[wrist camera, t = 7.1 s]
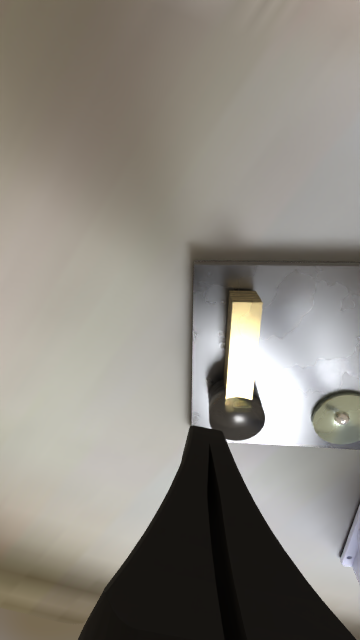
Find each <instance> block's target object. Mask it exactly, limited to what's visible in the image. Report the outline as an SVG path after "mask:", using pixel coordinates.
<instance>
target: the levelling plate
mask: <svg viewBox="0 0 360 640" xmlns="http://www.w3.org/2000/svg"><path fill="white" fill-rule="evenodd" d="M229 290H231V291H256V292H257V294H258V295H259V297H260V299H261V301H262V302H263V305H262V314H261V323H260V332H259V341H258V350H257V358H256V367H255V376H254V385H255V386H256V388H257V390H258V392H259V396H260V399H261V403H262V406H263V410H264V413H265V424H264V427H263V428H262V430H261V431H260V432H259V433H258V434H257V435H256V436H254V437H252V438H250V439H247V440H242V441H232V440H227V439H226V441H227V442H233V443H251V444H270V445H288V446H306V447H324V448H342V449H360V262H268V261H194V282H193V355H192V426H193V425H194V426H200V427H205V428H210V429H212V428H211V426H210V423H209V399H208V396H209V392H210V389H211V388H212V386H213V385H214V384H215V383H216V382H218V381H220V380H222V379H224V365H225V349H226V333H227V318H228V302H229Z"/></svg>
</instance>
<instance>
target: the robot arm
mask: <svg viewBox="0 0 360 640" xmlns="http://www.w3.org/2000/svg"><path fill="white" fill-rule="evenodd" d="M340 561H341V563H342V565H343V566H346V567H353V570H354V572H355V575H356V577H357V580H358V582H359V585H360V505H359V508H358V511H357V514H356V517H355V519H354V522H353V525H352V528H351V531H350V534H349V536H348V539H347V542H346V545H345V548H344V551H343V553H342V556H341V559H340ZM78 640H356V639H355V637H354V636H353V635H352V634H351V633H350V632H349V631H348V629H347V628H346V627H345V626H344V625H343V624H342V623H341V621H340V620H339V619H338V618H337V617H336V616H335V614H334V613H333V612H332V611H331V610H330V609H329V608H328V606H327V605H326V604H325V603H324V602H323V601H322V599H321V598H320V597H319V596H318V594H317V593H316V592H315V591H314V589H313V588H312V587H311V585H310V584H309V583H308V582H307V580H306V579H305V578H304V576H303V575H302V574H301V572H300V571H299V569H298V568H297V567H296V565H295V564H294V563H293V561H292V560H291V558H290V557H289V556H288V554H287V553H286V552H285V550H284V549H283V547H282V546H281V544H280V543H279V541H278V540H277V538H276V537H275V535H274V534H273V532H272V531H271V529H270V527H269V526H268V524H267V523H266V521H265V519H264V518H263V516H262V514H261V513H260V511H259V509H258V507H257V505H256V504H255V502H254V500H253V498H252V496H251V494H250V493H249V491H248V489H247V487H246V485H245V483H244V481H243V478H242V476H241V474H240V472H239V470H238V468H237V466H236V463H235V461H234V459H233V456H232V454H231V452H230V449H229V447H228V444H227V441H226V439H225V436H224V433H223V432H222V431H220V430H215V429H210V428H205V427H200V426H194V425H193V426H190V428H189V432H188V436H187V440H186V444H185V448H184V452H183V456H182V461H181V464H180V467H179V469H178V471H177V474H176V476H175V478H174V480H173V482H172V485H171V487H170V489H169V491H168V493H167V495H166V496H165V498H164V500H163V502H162V504H161V506H160V508H159V509H158V511H157V513H156V514H155V516H154V518H153V519H152V521H151V523H150V525H149V526H148V528H147V529H146V531H145V532H144V534H143V536H142V537H141V539H140V540H139V541H138V543H137V544H136V546H135V547H134V549H133V550H132V552H131V553H130V555H129V556H128V558H127V559H126V560H125V562H124V563H123V565H122V566H121V567H120V569H119V570H118V571H117V573H116V574H115V575H114V577H113V578H112V579H111V581H110V582H109V583H108V584H107V586H106V587H105V589H104V591H103V593H102V595H101V596H100V598H99V600H98V602H97V604H96V605H95V607H94V609H93V611H92V612H91V614H90V616H89V618H88V620H87V622H86V624H85V625H84V627H83V630H82V632H81V634H80V636H79V638H78Z"/></svg>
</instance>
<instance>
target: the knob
mask: <svg viewBox="0 0 360 640" xmlns="http://www.w3.org/2000/svg"><path fill="white" fill-rule="evenodd" d="M262 305H263V302H262V301H261V299H260V297H259V295H258V294H257V292H256V291H231V290H229V302H228V318H227V333H226V349H225V365H224V379H222V380H220V381H218V382H216V383H215V384H214V385H213V386H212V388H211V389H210V392H209V396H208V399H209V423H210V426H211V428H212V429H215V430H220V431H222V432H223V433H224V436H225V439H227V440H232V441H242V440H247V439H250V438H252V437H254V436H256V435H257V434H258V433H259V432H260V431H261V430H262V428H263V427H264V424H265V413H264V410H263V406H262V403H261V399H260V396H259V392H258V390H257V388H256V386H255V385H254V376H255V367H256V358H257V350H258V341H259V332H260V323H261V314H262Z"/></svg>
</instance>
